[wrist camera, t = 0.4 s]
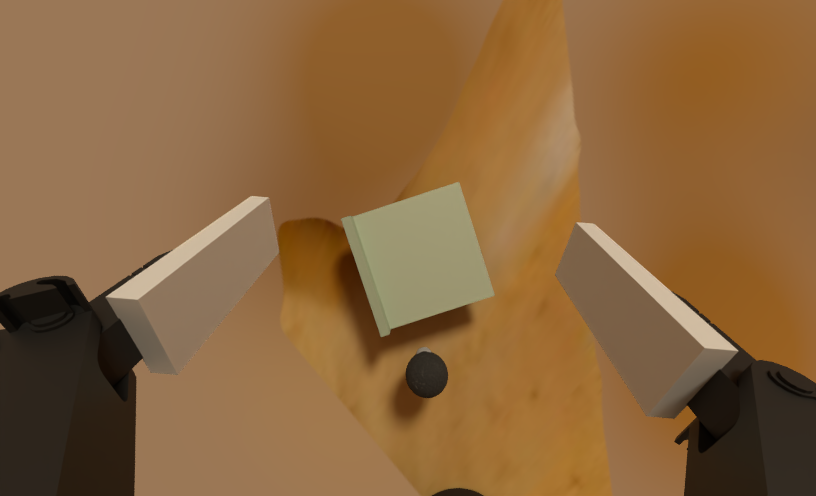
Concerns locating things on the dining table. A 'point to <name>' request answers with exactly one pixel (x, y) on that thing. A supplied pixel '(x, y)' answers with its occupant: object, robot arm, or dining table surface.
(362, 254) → the pale green square board
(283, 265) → the dining table surface
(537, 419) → the dining table surface
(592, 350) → the dining table surface
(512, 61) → the dining table surface
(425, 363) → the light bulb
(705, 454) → the robot arm
